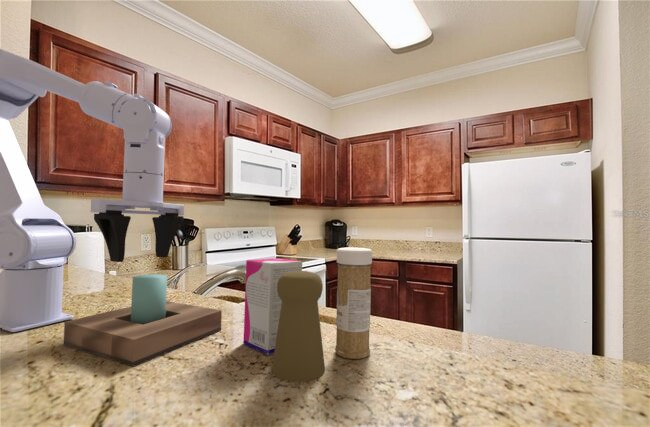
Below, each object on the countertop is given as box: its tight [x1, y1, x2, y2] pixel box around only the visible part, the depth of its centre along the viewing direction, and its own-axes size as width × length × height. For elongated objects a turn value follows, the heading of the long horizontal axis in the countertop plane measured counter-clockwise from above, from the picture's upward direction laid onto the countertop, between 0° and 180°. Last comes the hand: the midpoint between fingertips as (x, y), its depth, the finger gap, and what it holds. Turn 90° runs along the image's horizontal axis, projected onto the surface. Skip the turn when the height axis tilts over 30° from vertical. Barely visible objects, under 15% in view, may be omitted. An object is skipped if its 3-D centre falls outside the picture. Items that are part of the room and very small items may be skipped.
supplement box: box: [242, 257, 303, 356], centre depth 44 cm, size 6×6×12 cm
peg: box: [130, 273, 168, 325], centre depth 46 cm, size 4×4×8 cm
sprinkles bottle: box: [334, 246, 373, 360], centre depth 41 cm, size 5×5×14 cm
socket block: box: [63, 300, 223, 367], centre depth 46 cm, size 14×14×3 cm
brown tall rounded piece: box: [271, 270, 326, 383], centre depth 37 cm, size 6×6×11 cm
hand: (140, 259), depth 52 cm, fingers open, 7 cm apart
